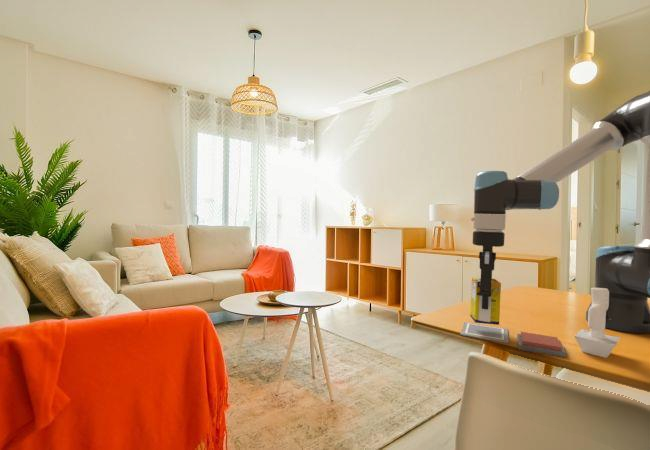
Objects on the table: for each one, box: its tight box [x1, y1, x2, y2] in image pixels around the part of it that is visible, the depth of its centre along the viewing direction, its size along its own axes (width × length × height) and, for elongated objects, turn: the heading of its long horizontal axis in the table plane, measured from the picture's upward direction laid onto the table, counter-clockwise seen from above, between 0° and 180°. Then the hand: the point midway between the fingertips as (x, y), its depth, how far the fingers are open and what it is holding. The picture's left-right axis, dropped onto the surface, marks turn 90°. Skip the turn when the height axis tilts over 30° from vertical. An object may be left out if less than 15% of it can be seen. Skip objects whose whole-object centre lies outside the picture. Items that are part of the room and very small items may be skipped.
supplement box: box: [469, 276, 502, 326], centre depth 89 cm, size 6×6×11 cm
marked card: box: [460, 321, 510, 344], centre depth 90 cm, size 11×11×1 cm
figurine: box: [574, 287, 621, 359], centre depth 78 cm, size 7×9×15 cm
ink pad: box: [516, 331, 567, 358], centre depth 80 cm, size 9×8×2 cm
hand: (484, 316), depth 89 cm, fingers closed on supplement box, 7 cm apart
